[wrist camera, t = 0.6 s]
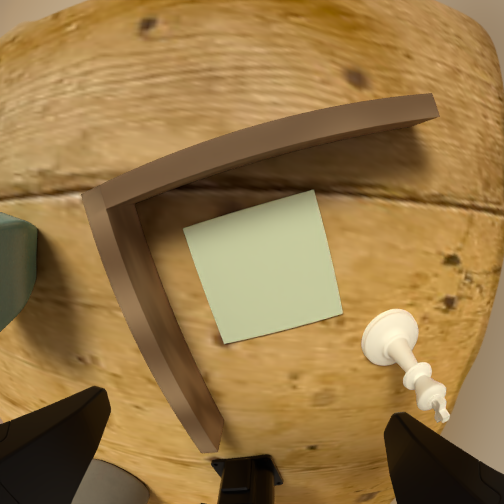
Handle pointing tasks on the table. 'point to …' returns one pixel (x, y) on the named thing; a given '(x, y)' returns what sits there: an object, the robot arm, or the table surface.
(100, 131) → the table surface
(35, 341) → the table surface
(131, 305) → the corner wall
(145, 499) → the canister
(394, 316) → the chess piece
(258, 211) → the pad
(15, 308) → the flower pot
